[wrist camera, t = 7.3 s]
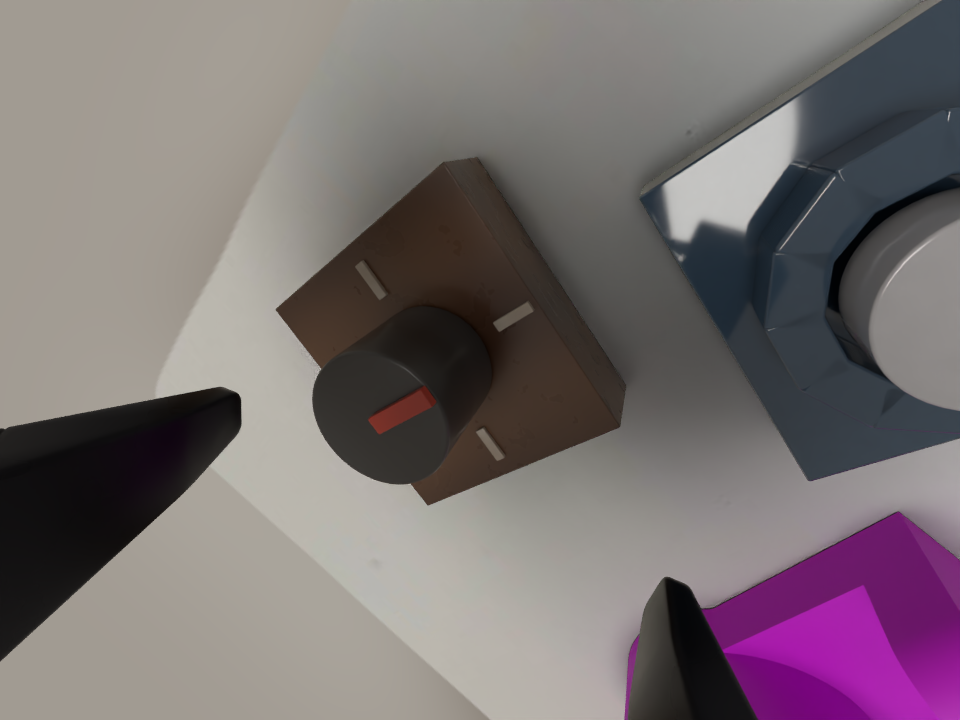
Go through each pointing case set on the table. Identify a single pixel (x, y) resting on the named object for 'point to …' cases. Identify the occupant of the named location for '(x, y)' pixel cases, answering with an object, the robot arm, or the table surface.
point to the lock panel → (471, 321)
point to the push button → (910, 298)
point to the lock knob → (403, 394)
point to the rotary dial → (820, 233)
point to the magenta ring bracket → (849, 632)
